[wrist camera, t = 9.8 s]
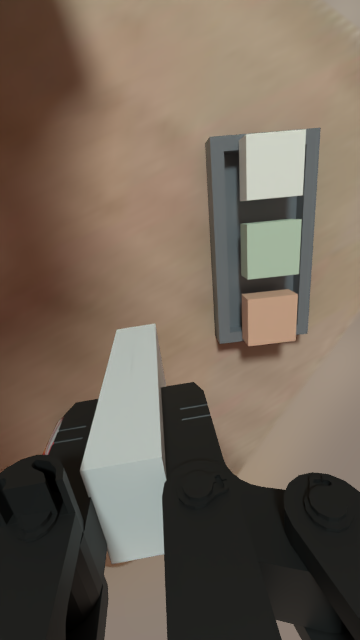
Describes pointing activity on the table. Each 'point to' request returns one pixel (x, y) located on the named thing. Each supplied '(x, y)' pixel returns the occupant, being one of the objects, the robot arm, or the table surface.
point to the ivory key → (271, 164)
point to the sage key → (270, 248)
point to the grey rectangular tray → (233, 212)
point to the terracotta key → (269, 317)
